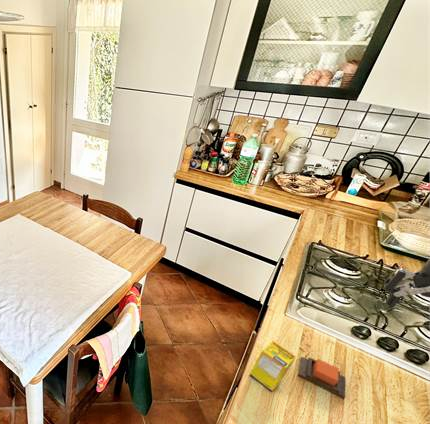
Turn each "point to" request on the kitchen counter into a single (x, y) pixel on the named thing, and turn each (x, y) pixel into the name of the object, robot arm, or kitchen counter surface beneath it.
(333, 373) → the orange-red small block
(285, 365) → the supplement box
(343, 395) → the back plate
